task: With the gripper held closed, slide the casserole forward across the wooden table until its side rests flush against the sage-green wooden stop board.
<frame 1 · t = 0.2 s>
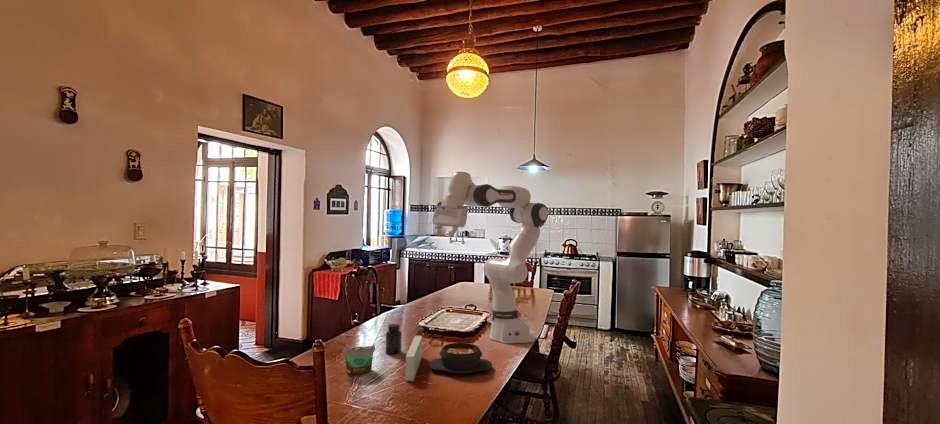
hand: (444, 235, 193), 52 cm above the table, tool tilted 20°, fingers open, 8 cm apart
supplement bottle: (393, 352, 193), on the table
casserole: (460, 369, 174), on the table
stop board: (414, 367, 175), on the table
food container: (360, 374, 168), on the table
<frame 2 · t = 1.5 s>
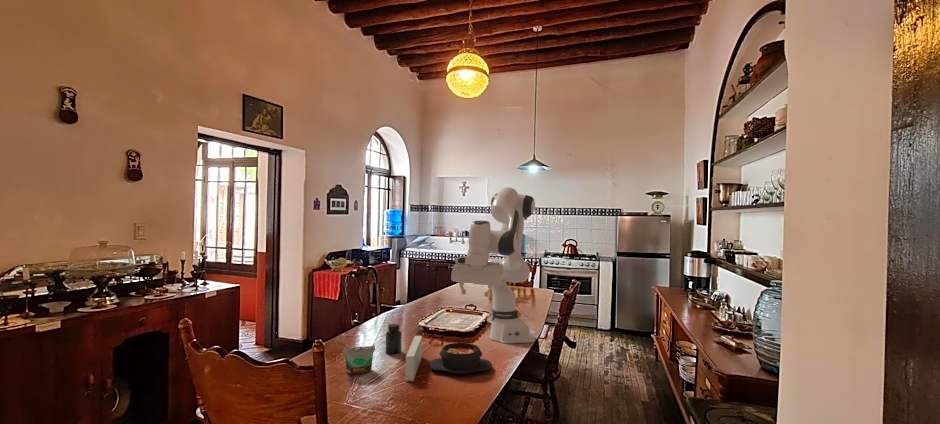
hand: (474, 295, 175), 29 cm above the table, tool pointing down, fingers open, 8 cm apart
nothing on the table moved.
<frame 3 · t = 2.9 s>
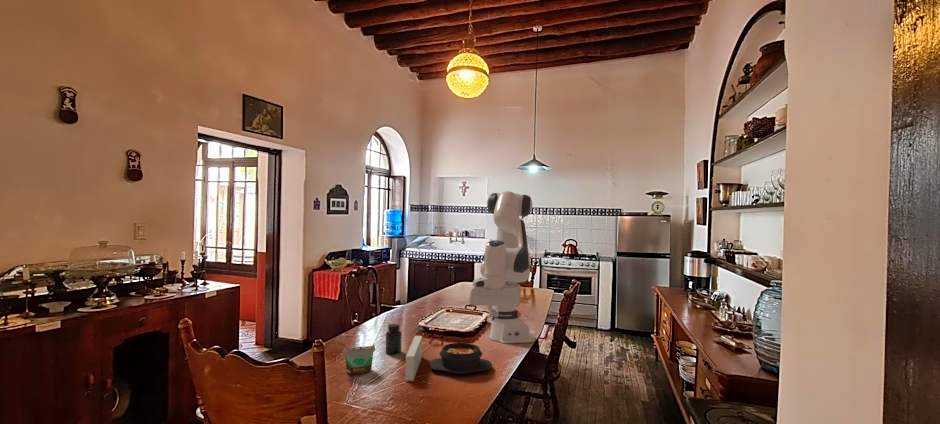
hand: (494, 316, 174), 21 cm above the table, tool pointing down, fingers closed
nothing on the table moved.
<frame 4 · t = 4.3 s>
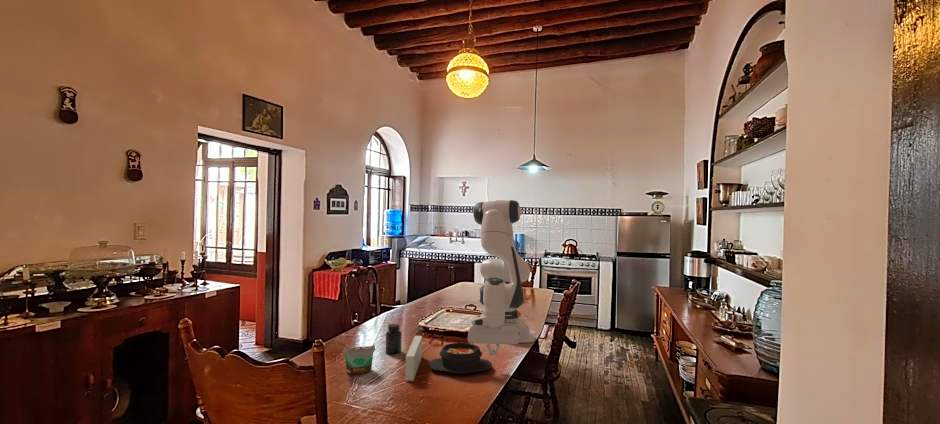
hand: (492, 354, 174), 6 cm above the table, tool pointing down, fingers closed
nothing on the table moved.
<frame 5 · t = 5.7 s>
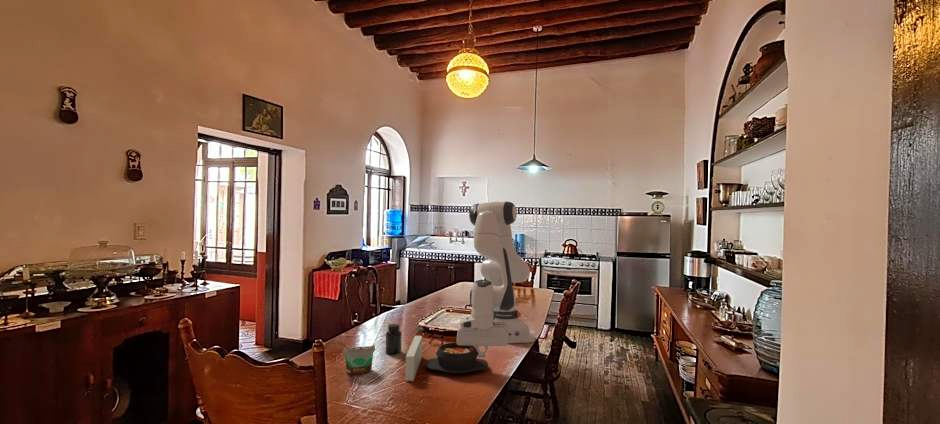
hand: (481, 356, 174), 5 cm above the table, tool pointing down, fingers closed
casserole: (456, 369, 174), on the table, touching gripper
everything else where it was.
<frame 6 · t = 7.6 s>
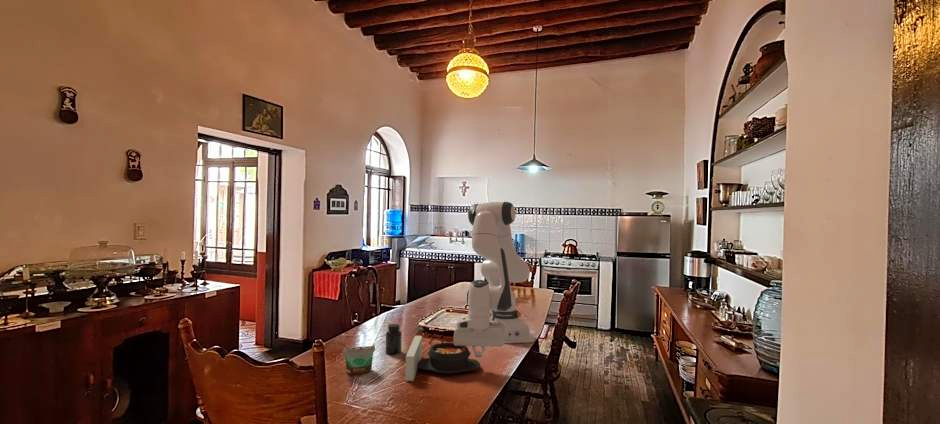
hand: (478, 356, 175), 5 cm above the table, tool pointing down, fingers closed
casserole: (448, 369, 174), on the table
everything else where it was.
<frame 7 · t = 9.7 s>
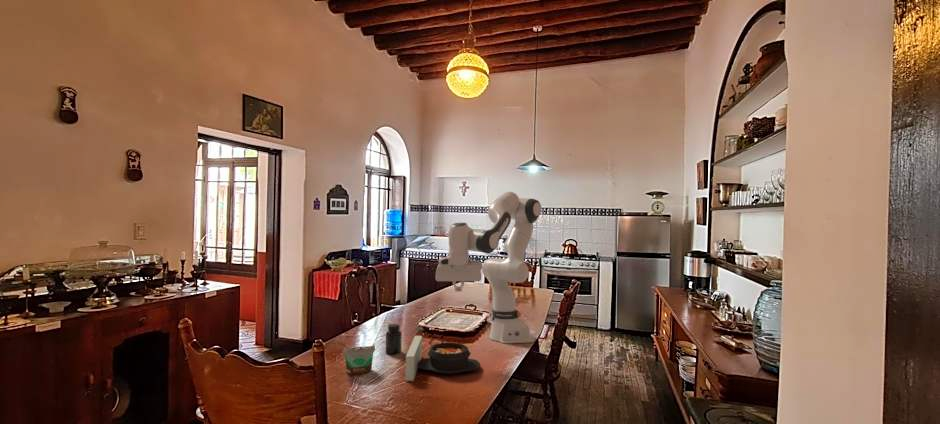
hand: (458, 291, 193), 27 cm above the table, tool pointing down, fingers closed
nothing on the table moved.
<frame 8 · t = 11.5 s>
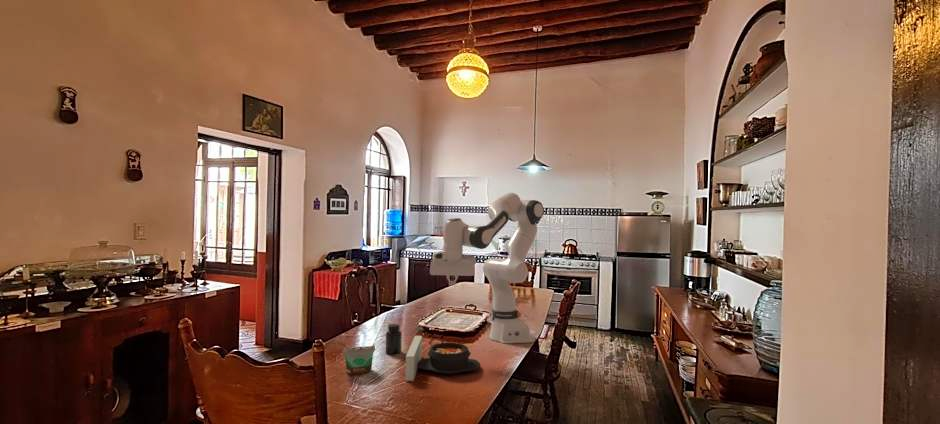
hand: (452, 285, 197), 29 cm above the table, tool pointing down, fingers closed
nothing on the table moved.
at the end: casserole inside the target area on the table beside the stop board (0.6 cm from its centre), on the table; casserole tilted 0° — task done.
